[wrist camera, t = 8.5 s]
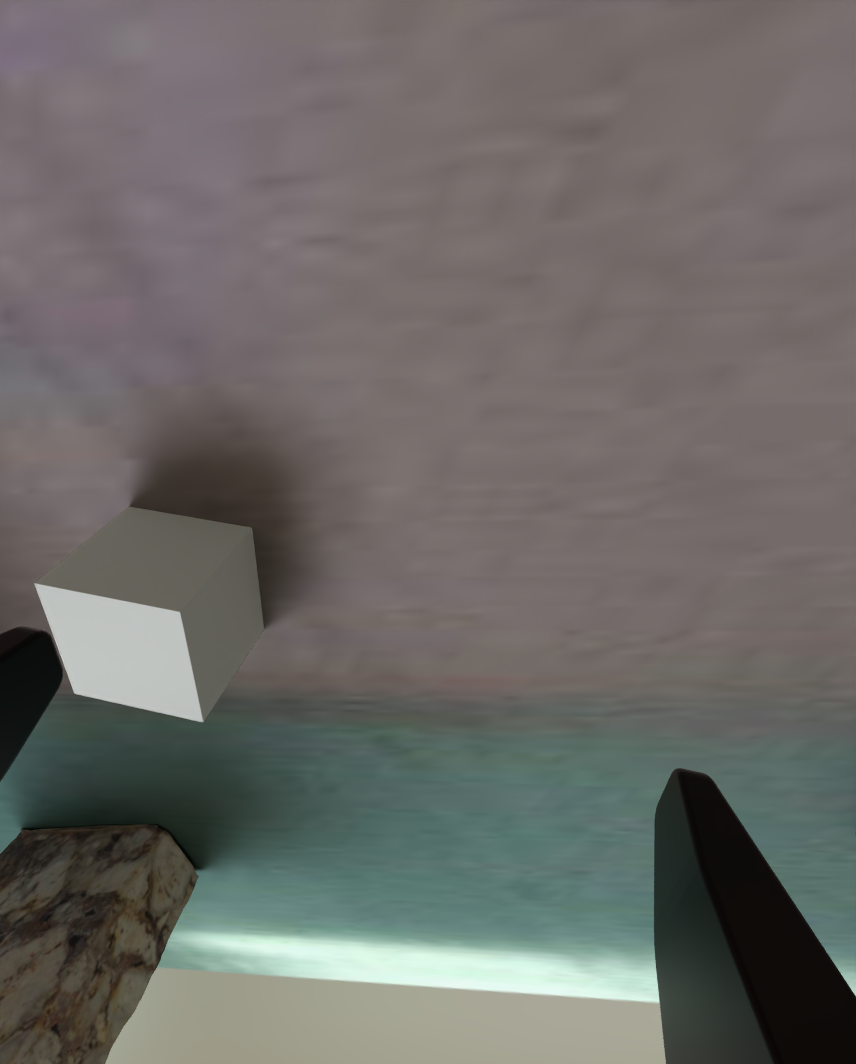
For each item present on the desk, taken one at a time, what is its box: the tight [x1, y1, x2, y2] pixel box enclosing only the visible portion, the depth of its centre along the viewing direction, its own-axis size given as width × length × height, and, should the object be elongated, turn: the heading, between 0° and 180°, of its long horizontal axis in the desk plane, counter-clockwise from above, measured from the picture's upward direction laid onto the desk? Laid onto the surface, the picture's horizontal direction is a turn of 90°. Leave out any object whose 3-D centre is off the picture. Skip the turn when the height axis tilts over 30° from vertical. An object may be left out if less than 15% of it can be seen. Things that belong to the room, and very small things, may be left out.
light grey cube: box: [34, 507, 264, 722], centre depth 23 cm, size 5×5×5 cm
